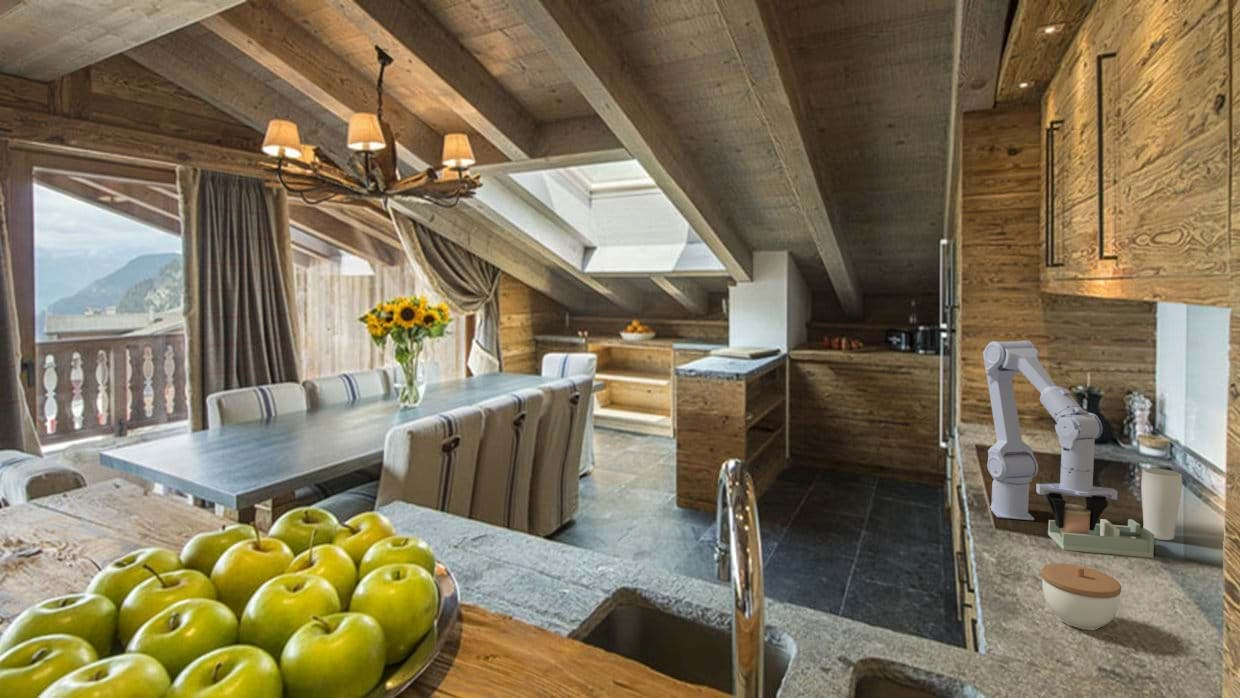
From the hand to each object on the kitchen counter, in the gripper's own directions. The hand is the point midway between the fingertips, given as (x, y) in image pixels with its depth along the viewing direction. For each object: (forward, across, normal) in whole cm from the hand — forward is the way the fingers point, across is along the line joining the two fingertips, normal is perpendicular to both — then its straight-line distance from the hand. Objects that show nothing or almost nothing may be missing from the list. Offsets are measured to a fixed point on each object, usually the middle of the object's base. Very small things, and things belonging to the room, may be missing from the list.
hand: (1074, 527), depth 133 cm
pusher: (+2, +10, 0) cm, 10 cm away
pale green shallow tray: (+4, +4, 0) cm, 6 cm away
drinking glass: (+4, +20, +9) cm, 22 cm away
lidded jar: (+4, -12, -37) cm, 39 cm away
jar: (+2, 0, 0) cm, 2 cm away
